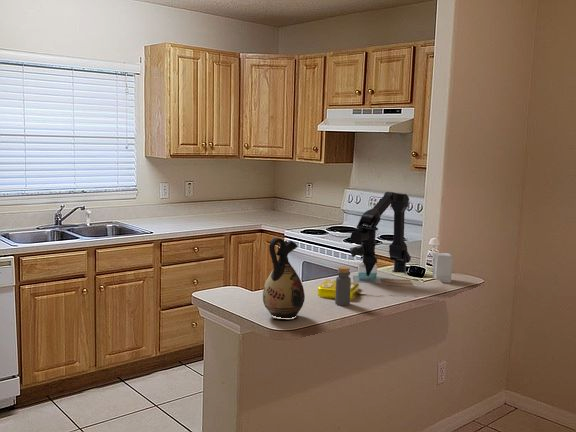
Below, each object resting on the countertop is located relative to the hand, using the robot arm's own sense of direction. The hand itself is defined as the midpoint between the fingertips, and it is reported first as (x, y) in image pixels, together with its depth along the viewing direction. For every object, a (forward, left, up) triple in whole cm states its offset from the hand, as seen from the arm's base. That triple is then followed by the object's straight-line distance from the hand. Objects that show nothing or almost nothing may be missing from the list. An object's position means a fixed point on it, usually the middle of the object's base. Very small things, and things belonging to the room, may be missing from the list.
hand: (367, 274), depth 270 cm
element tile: (+21, -14, -5) cm, 26 cm away
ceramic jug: (+55, -37, -4) cm, 66 cm away
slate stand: (0, 0, -4) cm, 4 cm away
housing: (0, 0, -2) cm, 2 cm away
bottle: (+35, -13, -4) cm, 38 cm away
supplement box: (-9, +36, -4) cm, 37 cm away
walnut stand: (+4, +14, -4) cm, 15 cm away
